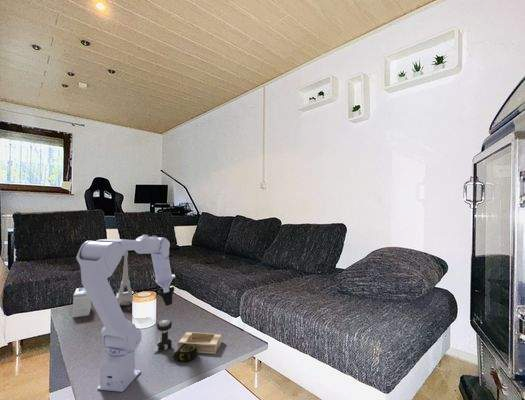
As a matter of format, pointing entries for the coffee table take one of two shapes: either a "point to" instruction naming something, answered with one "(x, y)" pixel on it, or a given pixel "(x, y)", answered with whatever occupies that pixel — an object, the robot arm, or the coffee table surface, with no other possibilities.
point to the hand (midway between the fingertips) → (167, 299)
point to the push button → (164, 335)
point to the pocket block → (202, 341)
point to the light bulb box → (81, 303)
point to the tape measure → (186, 352)
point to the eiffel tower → (125, 284)
